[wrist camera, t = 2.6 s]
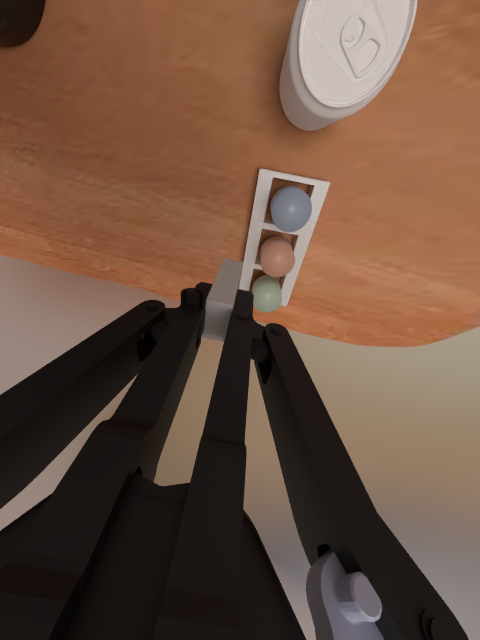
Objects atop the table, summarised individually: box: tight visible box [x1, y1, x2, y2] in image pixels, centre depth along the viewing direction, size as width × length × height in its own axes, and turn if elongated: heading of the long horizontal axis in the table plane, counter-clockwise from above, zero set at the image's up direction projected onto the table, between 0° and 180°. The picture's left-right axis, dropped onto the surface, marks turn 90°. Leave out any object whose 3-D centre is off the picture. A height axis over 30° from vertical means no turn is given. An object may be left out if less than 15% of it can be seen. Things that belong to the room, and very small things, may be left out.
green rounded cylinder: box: [252, 275, 282, 312], centre depth 34 cm, size 5×5×4 cm
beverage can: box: [279, 0, 417, 131], centre depth 19 cm, size 8×8×12 cm
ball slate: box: [271, 185, 312, 232], centre depth 26 cm, size 5×5×4 cm
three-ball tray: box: [239, 168, 330, 306], centre depth 33 cm, size 9×19×2 cm, turn 171°
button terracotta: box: [260, 236, 295, 277], centre depth 30 cm, size 5×5×4 cm
